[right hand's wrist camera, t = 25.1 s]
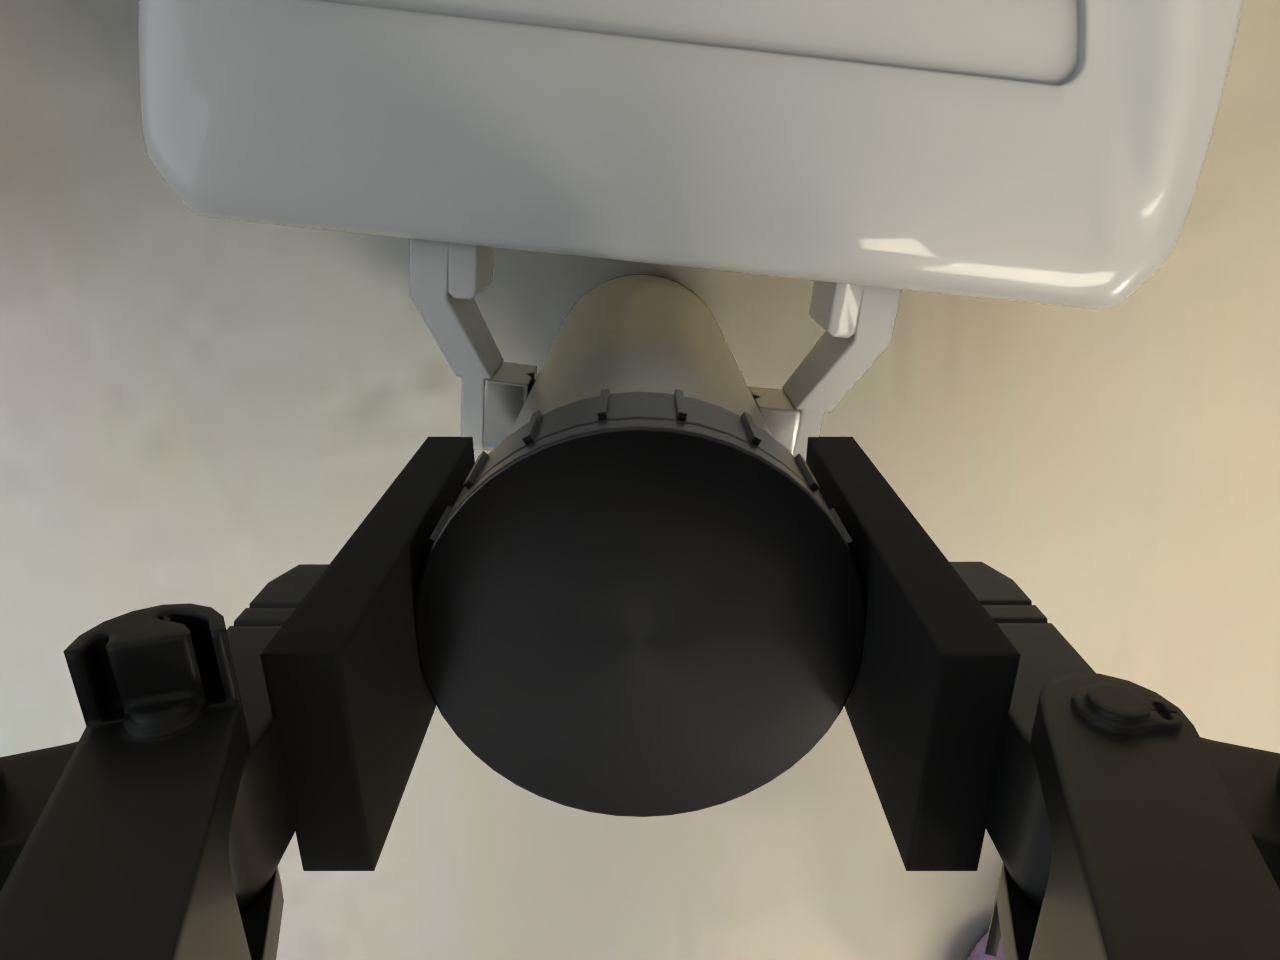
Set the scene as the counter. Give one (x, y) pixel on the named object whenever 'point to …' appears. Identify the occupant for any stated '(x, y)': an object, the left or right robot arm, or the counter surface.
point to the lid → (640, 606)
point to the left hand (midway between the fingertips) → (638, 458)
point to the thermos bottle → (640, 350)
